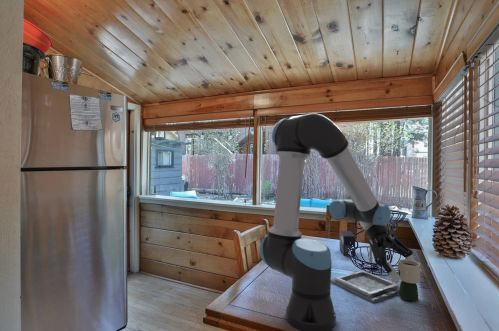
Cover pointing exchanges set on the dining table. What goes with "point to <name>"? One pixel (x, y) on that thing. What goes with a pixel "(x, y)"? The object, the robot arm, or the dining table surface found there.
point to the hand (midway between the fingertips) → (408, 276)
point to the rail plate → (367, 286)
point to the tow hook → (370, 254)
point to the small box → (347, 242)
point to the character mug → (409, 279)
